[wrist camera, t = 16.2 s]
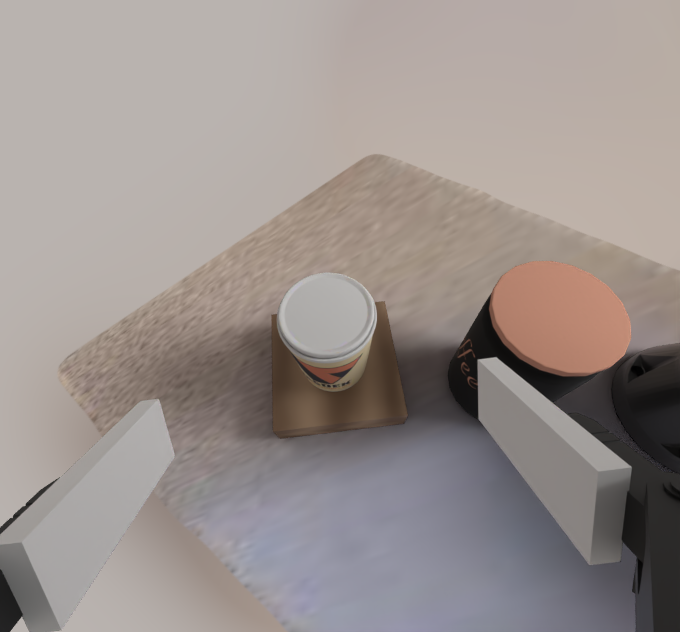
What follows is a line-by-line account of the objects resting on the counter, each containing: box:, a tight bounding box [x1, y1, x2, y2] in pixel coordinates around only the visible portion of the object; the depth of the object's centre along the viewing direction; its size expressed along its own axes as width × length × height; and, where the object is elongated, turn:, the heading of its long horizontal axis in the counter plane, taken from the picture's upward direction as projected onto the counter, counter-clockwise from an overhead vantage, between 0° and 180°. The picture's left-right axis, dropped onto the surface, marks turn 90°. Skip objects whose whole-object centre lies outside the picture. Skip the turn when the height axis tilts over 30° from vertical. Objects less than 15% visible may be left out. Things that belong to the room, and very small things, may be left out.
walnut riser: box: [272, 301, 408, 439], centre depth 44 cm, size 15×15×4 cm
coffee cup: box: [277, 273, 377, 392], centre depth 37 cm, size 9×9×12 cm
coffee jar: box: [448, 261, 631, 420], centre depth 36 cm, size 11×11×18 cm
